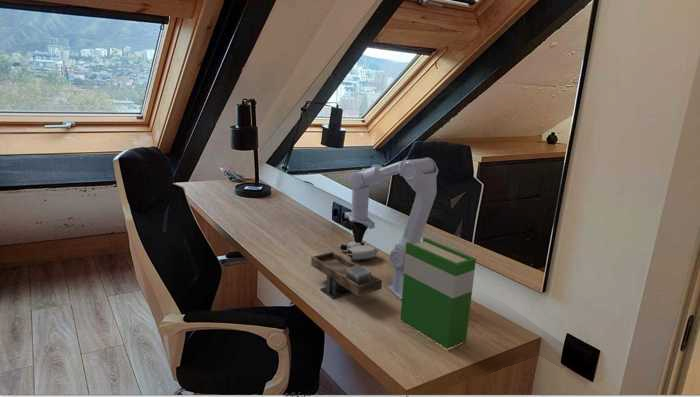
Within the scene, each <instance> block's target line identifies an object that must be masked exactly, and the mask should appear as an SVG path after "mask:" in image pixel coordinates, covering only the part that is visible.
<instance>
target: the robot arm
mask: <svg viewBox="0 0 700 397" xmlns="http://www.w3.org/2000/svg"><path fill="white" fill-rule="evenodd" d="M438 174H439V168H438V166H437V164H436V162H435V160H434V159H433V158H430V157H423V158H415V159H407V160H399V161H397V162H394V163H392V164H388V165H387V166H383V165H380V164H378V163H377V164H374V163H373V164H372V165H371V167H368V168H367V167H364V168H362V169H361V170H358V171H353V172H352V173H350V174H349V179H348V182H349V185H350V187H351V188H352V192H351V211H345V212H344V218H345V219H348V221H350V222H349V227H350V229H351V231H352V235H353V238H354V239H353V240H354V241H355V242H356V243H361V242H363V238H364V236H365V234H366V231H367V230H369V229H370V230H372V229H373V230H374V229H375V227H376V225H375V224H376V222H374V221H373V220H371V218H369V198H370V192H371V188H372V186H374V185H378V184H382V183H384V182H385V181H386V180H387V178H388V177H391V176H392V177H393V176H394V175H395V176H396V175H399V176H400V177H403V179H405V180H404V181H406V182H407V183H408V185H409V186H410V187H411V189H412V190H413V191H414V192H415V193H416V195H415V197H414V202H413V204H412V207H411V210H410V214H409V216H408V220H407V222H406V226H405V228H404V231H403V234H402V237H401V238H400V239H399V240H398V241H397V242H396V243H395V246H394V247H393V248H392V249H391V250H390V253H389V261H390V263H391V265H392V267H393V275H392V284H390V285H387V286H386V287H387V288H388V289H389V291H391V292H392V293H393V294H394V295H395V296H396V297H397V298H398V299H399V300H401V299H402V293H403V280H404V267H405V254H406V243H407V242H410V243H412V244H417V243H420V242H422V241H421V239H422V236H423V233H424V230H425V227H426V224H427V221H428V218H429V216H430V213H431V210H432V208H433V204H434V202H435V199H436V196H437V191H438V190H437V188H438V187H437V185H438V184H437V177H438Z"/></svg>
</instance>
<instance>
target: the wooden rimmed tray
mask: <svg viewBox="0 0 700 397" xmlns="http://www.w3.org/2000/svg"><path fill="white" fill-rule="evenodd" d="M310 259H311V262H310V263H311V264H310V265H311V267H313V268H315V269H317V270H318V271H319V272H321V273H323V274H324V275H325V276H326V277H327V276H328V275H331V276H332V277H333V280H334V281H336V282H337V283H339V284H340V285H342V286H343V287H345V288H347V289H348V290H350V291H351V292H353V293H352V294H355V295H356V297H361V296H364V295H367V294H370V293H373V292H377V291H379V290H382V289H383V288H382V286H383V280H382V279H381V278H379V277H378V276H376V275H374V274H372V273H371V282H369V283H366V284H363V285H360V286H359V285H358V284H356V283H355V282H353V281H352V280H350V279H348V278H347V277H346V273H347V268H349V267H353V266H357V264H356V263H354V262H352V261H350V260H348V259H346V258H345V257H343V256H342V255H340V254H338V253H336V252H335V251H330V252H326V253H322V254H318V255H315V256H311V258H310Z"/></svg>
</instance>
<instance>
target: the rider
mask: <svg viewBox="0 0 700 397" xmlns="http://www.w3.org/2000/svg"><path fill="white" fill-rule="evenodd" d="M356 265H357V264H356ZM371 274H372V271H370V270H369V269H367V268H366V267H364V266H363V265H360V264H358V265H357V266H353V267H349V268H347V273H346V277H347V278H348V279H350V280H352V281H353V282H355V283H356V284H358V285H359V286H360V285H363V284H366V283H369V282H371Z"/></svg>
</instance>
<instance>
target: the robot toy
mask: <svg viewBox="0 0 700 397" xmlns="http://www.w3.org/2000/svg"><path fill="white" fill-rule="evenodd" d="M337 248H339V249H340V250H342V251H346V256H348V257H349V258H351V259H352V260H353V261H360V260H370V259H372V258H374V257H376V256H377V254H378V253H377V252H381V251H382V250H381V249H377V248H375V247H373V246H372V245H365V242H363V241H362V242H361V243H356V242H355V240H354V241H349V242H347V245H346V244H339V245H337Z"/></svg>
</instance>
